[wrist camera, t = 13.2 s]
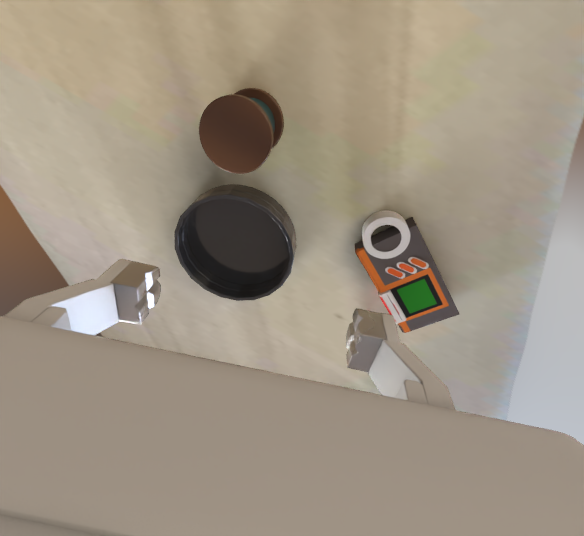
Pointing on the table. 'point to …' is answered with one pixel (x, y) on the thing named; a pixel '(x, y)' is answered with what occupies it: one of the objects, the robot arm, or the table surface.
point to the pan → (236, 242)
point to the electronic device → (404, 272)
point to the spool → (241, 130)
